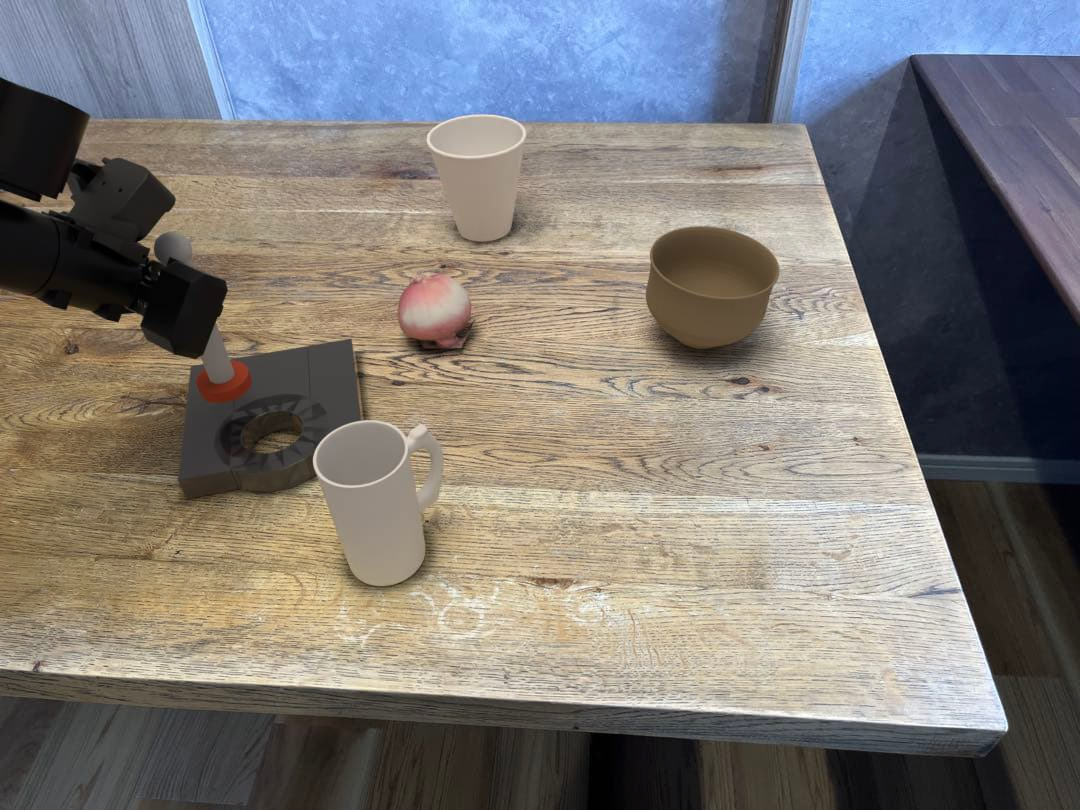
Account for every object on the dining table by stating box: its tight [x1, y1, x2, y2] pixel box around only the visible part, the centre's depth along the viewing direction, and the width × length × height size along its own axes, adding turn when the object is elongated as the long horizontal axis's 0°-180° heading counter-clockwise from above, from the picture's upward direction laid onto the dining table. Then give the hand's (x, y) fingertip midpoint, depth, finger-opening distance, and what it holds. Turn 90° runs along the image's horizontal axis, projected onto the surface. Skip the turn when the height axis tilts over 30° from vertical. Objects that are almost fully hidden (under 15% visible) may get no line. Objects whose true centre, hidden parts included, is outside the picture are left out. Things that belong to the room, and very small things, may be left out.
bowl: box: [645, 225, 781, 350], centre depth 83 cm, size 13×13×10 cm
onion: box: [397, 272, 477, 349], centre depth 85 cm, size 8×8×7 cm
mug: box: [313, 419, 445, 587], centre depth 63 cm, size 10×7×12 cm, turn 133°
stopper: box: [153, 231, 252, 403], centre depth 69 cm, size 5×5×16 cm
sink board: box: [177, 338, 365, 500], centre depth 77 cm, size 16×17×2 cm
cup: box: [425, 113, 527, 243], centre depth 100 cm, size 12×12×12 cm
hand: (211, 306), depth 70 cm, fingers closed on stopper, 2 cm apart
